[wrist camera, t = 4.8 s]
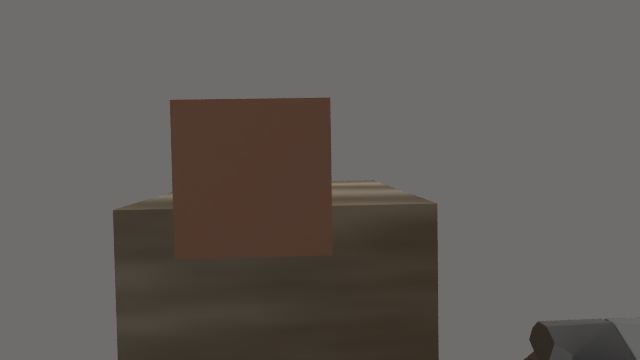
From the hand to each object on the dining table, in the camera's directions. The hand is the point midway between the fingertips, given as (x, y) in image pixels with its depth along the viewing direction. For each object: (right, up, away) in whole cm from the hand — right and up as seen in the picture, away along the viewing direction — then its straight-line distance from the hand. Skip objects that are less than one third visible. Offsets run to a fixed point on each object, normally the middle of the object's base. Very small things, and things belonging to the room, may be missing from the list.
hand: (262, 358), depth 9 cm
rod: (-1, +2, +13) cm, 13 cm away
